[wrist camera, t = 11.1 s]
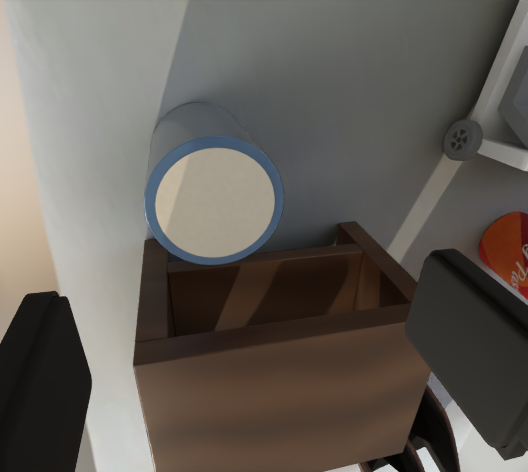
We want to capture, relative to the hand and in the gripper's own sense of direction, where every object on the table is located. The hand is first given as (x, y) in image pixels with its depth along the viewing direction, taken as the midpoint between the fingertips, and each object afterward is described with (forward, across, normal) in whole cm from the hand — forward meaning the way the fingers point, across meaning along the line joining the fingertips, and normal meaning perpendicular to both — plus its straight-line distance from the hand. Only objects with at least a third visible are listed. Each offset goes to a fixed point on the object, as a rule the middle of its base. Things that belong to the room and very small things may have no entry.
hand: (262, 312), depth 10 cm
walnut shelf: (+17, -4, +14) cm, 22 cm away
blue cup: (+18, 0, +1) cm, 18 cm away
